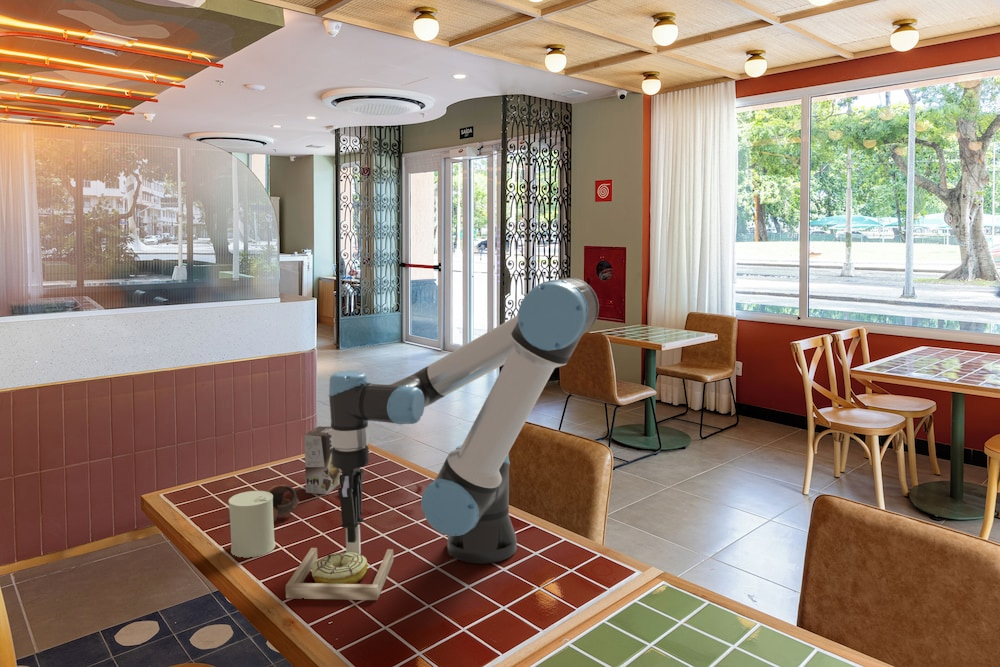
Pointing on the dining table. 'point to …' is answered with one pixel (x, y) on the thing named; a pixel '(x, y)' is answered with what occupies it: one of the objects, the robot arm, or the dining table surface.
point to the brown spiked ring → (282, 500)
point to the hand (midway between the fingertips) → (353, 554)
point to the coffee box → (320, 462)
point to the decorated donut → (340, 568)
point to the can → (251, 524)
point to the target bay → (336, 590)
